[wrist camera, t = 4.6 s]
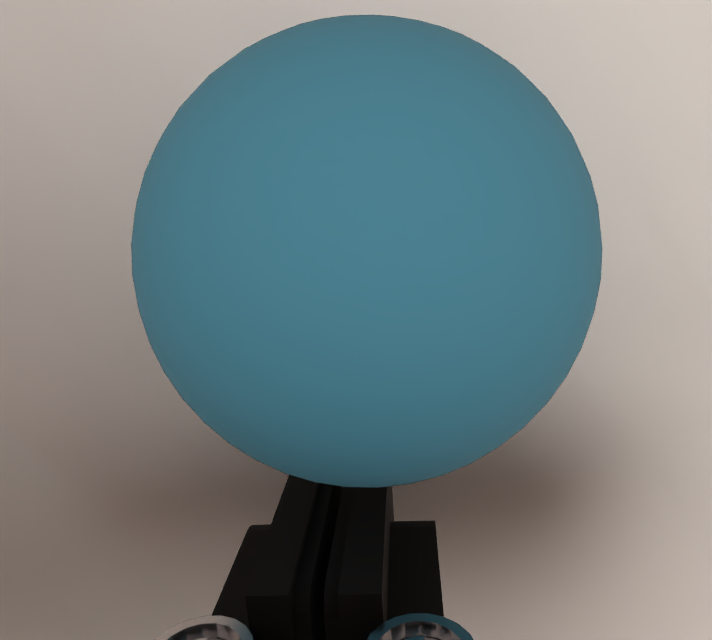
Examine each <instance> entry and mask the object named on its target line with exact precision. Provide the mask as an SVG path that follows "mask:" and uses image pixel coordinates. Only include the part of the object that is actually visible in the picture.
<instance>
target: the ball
mask: <svg viewBox="0 0 712 640" xmlns="http://www.w3.org/2000/svg"><path fill="white" fill-rule="evenodd" d="M131 248H132V276H133V281H134V287H135V292H136V298H137V303H138V308H139V312H140V315H141V318H142V321H143V324H144V327H145V330H146V333H147V336H148V339H149V342H150V345H151V347H152V349H153V351H154V353H155V355H156V357H157V359H158V361H159V363H160V365H161V367H162V369H163V371H164V373H165V374H166V376H167V377H168V378H169V380H170V381H171V383H172V384H173V386H174V387H175V389H176V390H177V392H178V393H179V395H180V396H181V397H182V399H183V400H184V401H185V402H186V403H187V404H188V405H189V406H190V407H191V409H192V410H193V411H194V412H195V413H196V414H197V415H198V416H199V417H200V418H201V420H202V421H203V422H204V423H205V424H207V425H208V426H209V427H210V428H211V429H213V430H214V431H215V432H216V433H217V434H219V435H220V436H221V437H222V438H223V439H225V440H226V441H227V442H228V443H229V444H231V445H232V446H234V447H236V448H237V449H239V450H240V451H242V452H244V453H245V454H247V455H248V456H250V457H252V458H253V459H255V460H257V461H259V462H261V463H263V464H266V465H268V466H270V467H272V468H274V469H277V470H279V471H281V472H283V473H286V474H289V475H293V476H296V477H299V478H303V479H306V480H310V481H313V482H317V483H324V484H330V485H337V486H343V487H376V488H379V487H387V486H395V485H404V484H411V483H415V482H419V481H423V480H426V479H430V478H434V477H438V476H442V475H444V474H446V473H449V472H451V471H454V470H456V469H458V468H461V467H463V466H466V465H468V464H471V463H472V462H474V461H476V460H477V459H479V458H481V457H483V456H484V455H486V454H488V453H489V452H491V451H493V450H495V449H496V448H498V447H499V446H500V445H502V444H503V443H504V442H506V441H507V440H508V439H509V438H511V437H512V436H513V435H514V434H516V433H517V432H518V431H520V430H521V429H522V428H523V427H524V426H525V425H526V424H527V423H528V422H529V421H530V420H531V419H532V418H533V417H534V416H535V415H536V414H537V413H538V412H539V411H540V410H541V409H542V408H543V407H544V406H545V405H546V404H547V403H548V401H549V400H550V399H551V397H552V396H553V394H554V393H555V392H556V390H557V389H558V387H559V386H560V385H561V383H562V382H563V381H564V379H565V378H566V376H567V375H568V373H569V371H570V369H571V367H572V365H573V363H574V361H575V359H576V357H577V356H578V354H579V352H580V350H581V348H582V345H583V342H584V339H585V337H586V334H587V331H588V328H589V325H590V323H591V320H592V317H593V313H594V310H595V305H596V300H597V295H598V290H599V285H600V280H601V263H602V241H601V231H600V221H599V211H598V204H597V200H596V196H595V192H594V188H593V184H592V181H591V177H590V174H589V172H588V170H587V167H586V165H585V162H584V160H583V158H582V156H581V153H580V151H579V149H578V147H577V144H576V142H575V140H574V138H573V135H572V134H571V132H570V131H569V129H568V128H567V126H566V125H565V123H564V122H563V120H562V119H561V117H560V116H559V114H558V113H557V111H556V110H555V109H554V107H553V106H552V105H551V103H550V102H549V100H548V99H547V98H546V97H545V96H544V95H543V94H542V93H541V92H540V91H539V90H538V89H537V88H536V87H535V85H534V84H533V83H532V82H531V81H530V80H529V79H527V78H526V77H525V76H524V75H523V74H522V73H521V72H520V71H519V70H518V69H517V68H516V67H515V66H513V65H512V64H510V63H509V62H508V61H506V60H505V59H503V58H502V57H500V56H499V55H497V54H496V53H494V52H493V51H491V50H490V49H488V48H486V47H485V46H483V45H482V44H480V43H478V42H476V41H474V40H472V39H470V38H468V37H466V36H464V35H463V34H460V33H457V32H455V31H452V30H449V29H447V28H444V27H442V26H438V25H434V24H430V23H426V22H423V21H419V20H413V19H407V18H401V17H395V16H382V15H350V16H339V17H331V18H324V19H319V20H315V21H311V22H306V23H302V24H299V25H296V26H294V27H291V28H288V29H285V30H283V31H280V32H278V33H276V34H273V35H271V36H269V37H266V38H264V39H262V40H260V41H258V42H256V43H255V44H253V45H251V46H249V47H247V48H245V49H244V50H242V51H241V52H240V53H238V54H237V55H236V56H234V57H233V58H232V59H230V60H229V61H227V62H226V63H225V64H223V65H222V66H221V67H219V68H218V69H217V70H215V71H214V72H213V73H211V74H210V75H209V76H208V77H207V78H206V79H205V81H204V82H203V83H202V84H201V85H200V86H199V87H198V88H197V89H196V90H195V91H194V92H193V93H192V95H191V96H190V97H189V98H188V99H187V100H186V101H185V102H184V103H183V104H182V106H181V107H180V108H179V109H178V111H177V112H176V114H175V116H174V117H173V119H172V120H171V122H170V123H169V125H168V126H167V128H166V129H165V131H164V133H163V134H162V136H161V138H160V140H159V142H158V144H157V146H156V148H155V150H154V153H153V155H152V157H151V159H150V162H149V164H148V166H147V168H146V171H145V173H144V177H143V181H142V184H141V188H140V192H139V196H138V199H137V204H136V210H135V216H134V225H133V234H132V243H131Z"/></svg>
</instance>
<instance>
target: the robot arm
mask: <svg viewBox="0 0 712 640" xmlns="http://www.w3.org/2000/svg"><path fill="white" fill-rule="evenodd" d="M155 640H473V638H472V637H471V635H470V634H469V633H468V632H467V631H466V630H465V629H464V628H462V627H461V626H460V625H459V624H458V623H456V622H453V621H451V620H449V619H447V618H445V617H444V614H443V603H442V592H441V581H440V570H439V560H438V549H437V538H436V527H435V521H397V522H394V513H393V497H392V486H387V487H379V488H376V487H342V486H337V485H330V484H324V483H317V482H313V481H310V480H306V479H303V478H299V477H296V476H293V475H289V477H288V479H287V482H286V485H285V488H284V490H283V493H282V496H281V499H280V501H279V504H278V507H277V510H276V512H275V515H274V518H273V521H272V523H271V525H252V526H250V527H249V529H248V531H247V533H246V535H245V537H244V540H243V542H242V545H241V547H240V549H239V552H238V554H237V556H236V559H235V561H234V564H233V566H232V568H231V571H230V573H229V575H228V578H227V580H226V583H225V585H224V587H223V590H222V592H221V594H220V597H219V599H218V602H217V604H216V606H215V609H214V611H213V613H212V616H202V617H198V618H193V619H189V620H186V621H184V622H182V623H180V624H177V625H175V626H173V627H171V628H170V629H168V630H167V631H165V632H164V633H162V634H161V635H160V636H158V637H157V638H156V639H155Z"/></svg>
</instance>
